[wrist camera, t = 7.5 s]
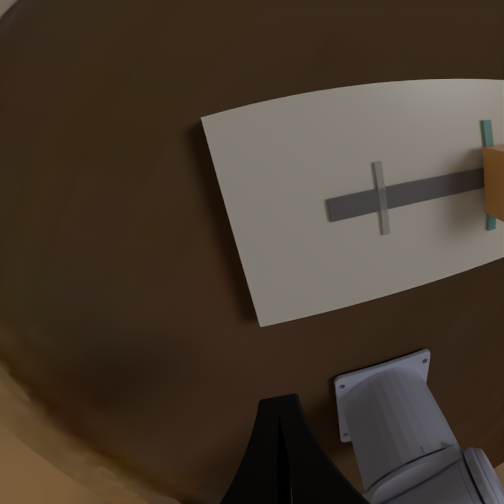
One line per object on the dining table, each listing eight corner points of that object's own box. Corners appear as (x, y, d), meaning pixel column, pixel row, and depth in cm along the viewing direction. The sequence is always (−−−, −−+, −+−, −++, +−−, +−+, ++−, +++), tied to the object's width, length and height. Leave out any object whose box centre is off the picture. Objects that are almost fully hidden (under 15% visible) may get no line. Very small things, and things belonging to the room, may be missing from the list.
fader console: (561, 222, 18) (574, 229, 16) (259, 313, 20) (260, 329, 18) (557, 87, 13) (571, 88, 12) (204, 118, 16) (200, 117, 14)
